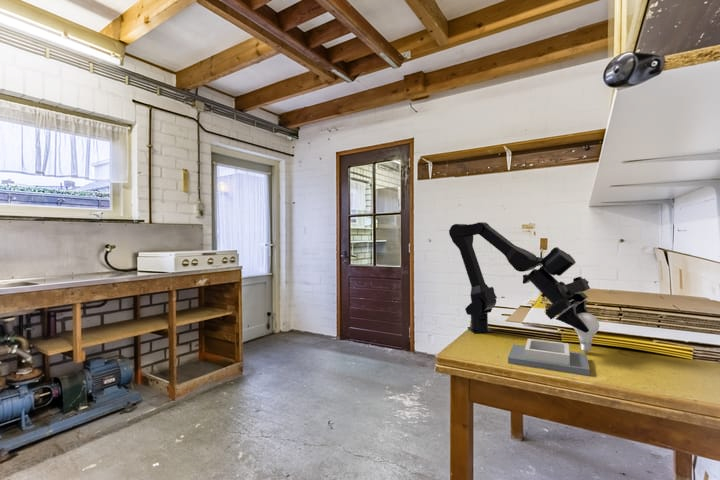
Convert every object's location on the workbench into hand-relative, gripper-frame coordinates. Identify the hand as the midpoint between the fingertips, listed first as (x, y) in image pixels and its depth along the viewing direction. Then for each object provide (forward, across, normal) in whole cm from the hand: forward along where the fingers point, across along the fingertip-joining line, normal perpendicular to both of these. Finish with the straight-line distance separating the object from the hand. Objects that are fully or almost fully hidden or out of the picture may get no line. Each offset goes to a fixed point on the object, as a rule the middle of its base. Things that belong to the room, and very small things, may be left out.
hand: (591, 329), depth 94 cm
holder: (0, -14, +10) cm, 17 cm away
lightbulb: (+4, 0, +6) cm, 7 cm away
